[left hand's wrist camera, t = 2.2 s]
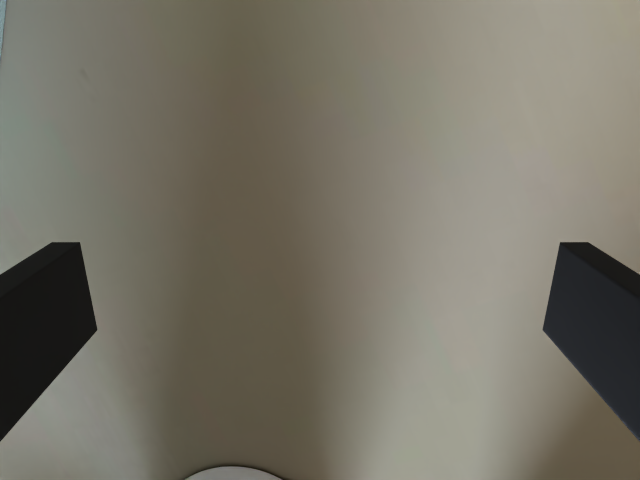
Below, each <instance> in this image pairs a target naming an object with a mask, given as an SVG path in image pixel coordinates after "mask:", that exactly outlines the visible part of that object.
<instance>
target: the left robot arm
mask: <svg viewBox="0 0 640 480" xmlns="http://www.w3.org/2000/svg"><path fill="white" fill-rule="evenodd" d="M96 331H97V326H96V321H95V316H94V311H93V306H92V301H91V296H90V291H89V286H88V281H87V276H86V271H85V266H84V261H83V256H82V251H81V246H80V242H52V243H50V244H48V245H47V246H45V247H44V248H42V249H40V250H39V251H37V252H36V253H34V254H33V255H31V256H29V257H28V258H26V259H25V260H23V261H21V262H20V263H18V264H17V265H15V266H13V267H12V268H10V269H9V270H7V271H6V272H4V273H2V274H1V275H0V441H1V440H2V439H3V438H4V437H5V436H6V434H7V433H8V432H9V431H10V430H11V429H12V427H13V426H14V425H15V424H16V423H17V422H18V421H19V419H20V418H21V417H22V416H23V415H24V414H25V413H26V411H27V410H28V409H29V408H30V407H31V406H32V404H33V403H34V402H35V401H36V400H37V399H38V398H39V396H40V395H41V394H42V393H43V392H44V391H45V390H46V388H47V387H48V386H49V385H50V384H51V383H52V381H53V380H54V379H55V378H56V377H57V376H58V375H59V373H60V372H61V371H62V370H63V369H64V368H65V367H66V365H67V364H68V363H69V362H70V361H71V360H72V358H73V357H74V356H75V355H76V354H77V353H78V352H79V350H80V349H81V348H82V347H83V346H84V345H85V344H86V342H87V341H88V340H89V339H90V338H91V337H92V335H93V334H94V333H95V332H96ZM543 331H544V332H545V333H546V334H547V335H548V337H549V338H550V339H551V340H552V341H553V342H554V344H555V345H556V346H557V347H558V348H559V349H560V350H561V352H562V353H563V354H564V355H565V356H566V357H567V358H568V360H569V361H570V362H571V363H572V364H573V365H574V367H575V368H576V369H577V370H578V371H579V372H580V373H581V375H582V376H583V377H584V378H585V379H586V380H587V381H588V383H589V384H590V385H591V386H592V387H593V388H594V390H595V391H596V392H597V393H598V394H599V395H600V396H601V398H602V399H603V400H604V401H605V402H606V403H607V404H608V406H609V407H610V408H611V409H612V410H613V411H614V413H615V414H616V415H617V416H618V417H619V418H620V419H621V421H622V422H623V423H624V424H625V425H626V426H627V427H628V429H629V430H630V431H631V432H632V433H633V434H634V436H635V437H636V438H637V439H638V440H639V441H640V275H639V274H638V273H636V272H634V271H633V270H631V269H630V268H628V267H627V266H625V265H623V264H622V263H620V262H619V261H617V260H615V259H614V258H612V257H611V256H609V255H607V254H606V253H604V252H603V251H601V250H599V249H598V248H596V247H595V246H593V245H592V244H590V243H588V242H560V246H559V251H558V256H557V261H556V266H555V271H554V276H553V281H552V286H551V291H550V296H549V301H548V306H547V311H546V316H545V321H544V326H543Z"/></svg>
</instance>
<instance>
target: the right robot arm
mask: <svg viewBox="0 0 640 480" xmlns="http://www.w3.org/2000/svg"><path fill="white" fill-rule="evenodd" d="M185 480H282V479H280V478H278V477H276V476H274V475H271V474H269V473H266V472H264V471H260V470H257V469H252V468H247V467H236V466H227V467H217V468H212V469H208V470H204V471H201V472H199V473H196V474H194V475H192V476H190V477H188V478H187V479H185Z"/></svg>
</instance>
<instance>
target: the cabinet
mask: <svg viewBox="0 0 640 480" xmlns="http://www.w3.org/2000/svg"><path fill="white" fill-rule="evenodd" d="M5 10H6V0H0V58H1V48H2V39H3V29H4V19H5Z"/></svg>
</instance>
